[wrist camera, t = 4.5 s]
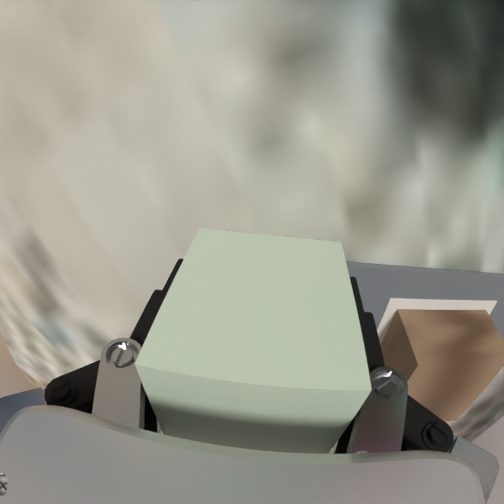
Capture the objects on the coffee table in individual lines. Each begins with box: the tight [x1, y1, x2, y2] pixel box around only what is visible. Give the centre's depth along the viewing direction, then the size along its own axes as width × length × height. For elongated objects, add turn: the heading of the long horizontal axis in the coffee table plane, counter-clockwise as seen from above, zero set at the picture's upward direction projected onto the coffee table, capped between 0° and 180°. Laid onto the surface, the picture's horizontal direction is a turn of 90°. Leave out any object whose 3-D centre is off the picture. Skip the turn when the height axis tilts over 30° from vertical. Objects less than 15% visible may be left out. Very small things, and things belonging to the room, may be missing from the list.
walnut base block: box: [381, 309, 504, 422], centre depth 16 cm, size 7×7×4 cm
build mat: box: [346, 262, 504, 346], centre depth 18 cm, size 18×12×1 cm, turn 87°
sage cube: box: [135, 228, 372, 454], centre depth 10 cm, size 5×5×6 cm
